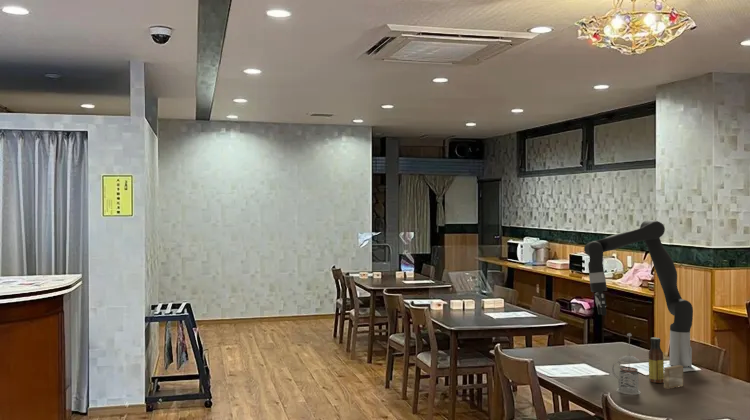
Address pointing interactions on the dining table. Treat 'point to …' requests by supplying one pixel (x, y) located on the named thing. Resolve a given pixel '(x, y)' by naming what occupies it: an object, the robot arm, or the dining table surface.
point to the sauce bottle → (656, 362)
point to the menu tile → (673, 376)
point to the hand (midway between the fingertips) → (602, 314)
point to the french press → (628, 375)
